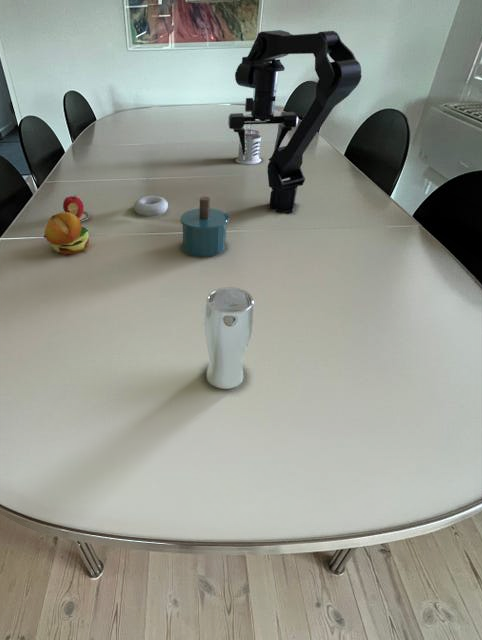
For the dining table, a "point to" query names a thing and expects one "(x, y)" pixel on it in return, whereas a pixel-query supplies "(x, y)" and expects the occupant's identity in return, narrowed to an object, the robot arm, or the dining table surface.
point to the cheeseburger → (66, 233)
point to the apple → (75, 207)
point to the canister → (204, 241)
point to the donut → (150, 206)
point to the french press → (250, 146)
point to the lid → (204, 217)
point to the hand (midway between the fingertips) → (259, 153)
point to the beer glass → (227, 334)
